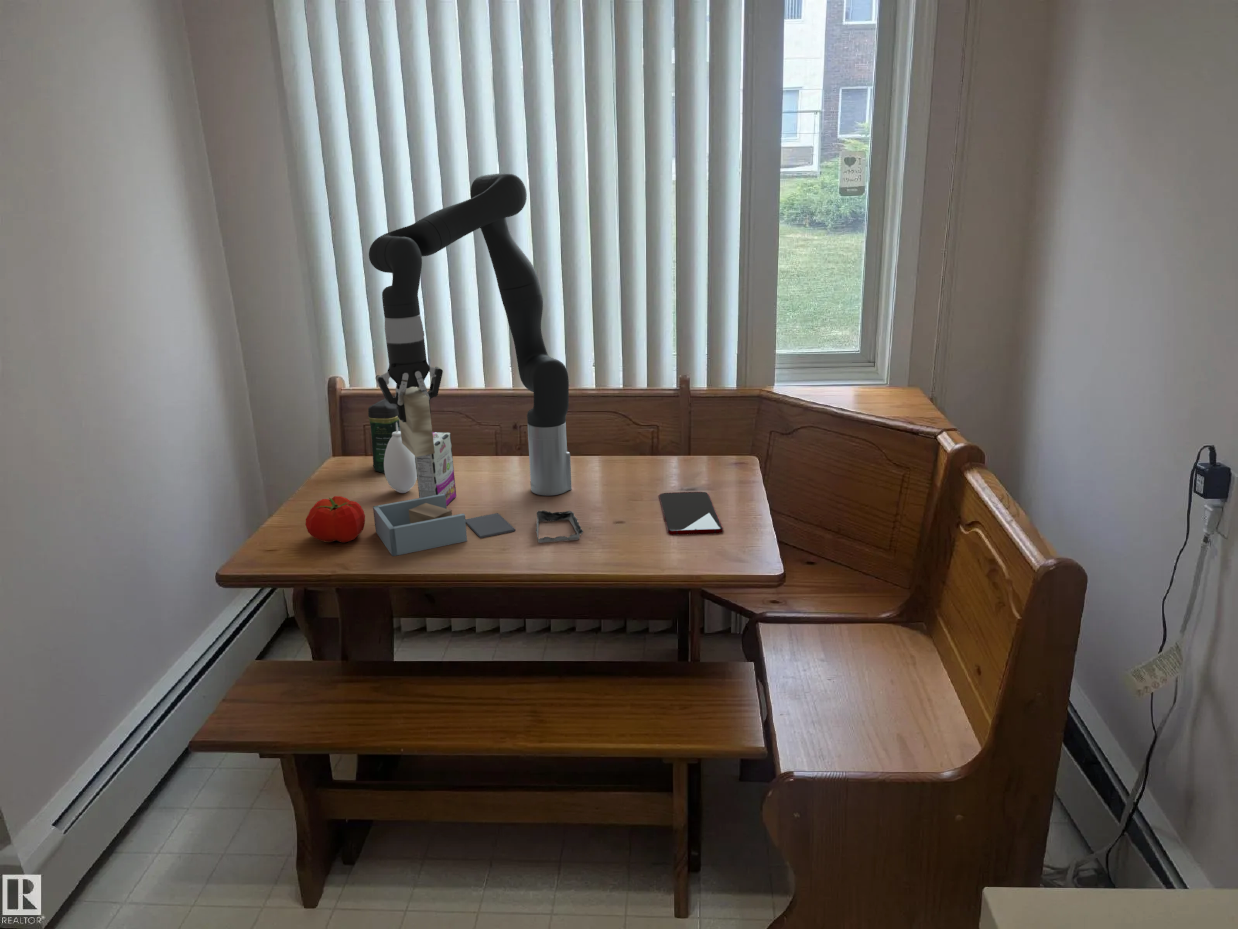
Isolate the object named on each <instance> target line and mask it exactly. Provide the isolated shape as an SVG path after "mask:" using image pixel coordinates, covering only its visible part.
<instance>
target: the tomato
mask: <svg viewBox="0 0 1238 929" xmlns="http://www.w3.org/2000/svg"><path fill="white" fill-rule="evenodd" d="M365 523H366V515H365V511H364V509H363V507H362V506H361V504H360V503H358V502H357V501H354V500H350V499H348V498H346V497H344V496H339V495H337V496H336V495H335V496H333V497H328V498H322V499H319V500H318V501H317V502H316V503H315V504H314V505H313V506H312V507H311V508H310V510H309V512H308V514H307V517H306V518H305V523H304V524H305V527H306V531H307V533H308V534H309V535H310V536H311V537H313V538H314V539H316V540H319V541H321V542H326V543H333V542H335V541H337V542H340V543H347V542H351V541H354V540H355V539H356V538H357V537H358V536H359V535H360V534H361V533H362V532H363V530H364V528H365Z"/></svg>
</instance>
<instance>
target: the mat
mask: <svg viewBox="0 0 1238 929" xmlns="http://www.w3.org/2000/svg"><path fill="white" fill-rule="evenodd" d="M465 521H466V526H468V527H469V528H470V529H471V530H472V531H473V532H474V533H475V534H476V536H478V537H479V539H484V538H489V537H492V536H497V535H498V536H499V535H501V534H502V535H503V534H507V533H513V532H516V528H515V527H514V526H512V524H511V523H509V522H508V520H506V519H505V518H504V517H503V516H502V515H501V514H499V513H498V512H496V513H491V514H486V515H481V516H475V517H470V518H465Z"/></svg>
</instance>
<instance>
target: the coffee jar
mask: <svg viewBox="0 0 1238 929" xmlns="http://www.w3.org/2000/svg"><path fill="white" fill-rule="evenodd" d="M367 410H368V411H367V414H368V416H367V417H368V420H369V426H370V435H371V446H372V448H371V450H372V451H371V452H372V466H373V470H374V471H375V472H379V473H382V474H385V472H384V456H385V451H386V448H387V445H388V442H389V440H390V439H391V437H392V433H393V432H395V431H396V422H397V425H398V431H400V423H399V418H398V416H397V408H396V404H390V403H389V402H388V401H387V400H386V399H385V398H383V399H382V400H380V401H379V400H378V401H377V402H376V403H374V404H372V405H370V406H369V407H368V408H367Z"/></svg>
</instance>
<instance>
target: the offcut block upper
mask: <svg viewBox="0 0 1238 929" xmlns="http://www.w3.org/2000/svg"><path fill="white" fill-rule="evenodd" d="M452 512H453V510H451V509H449V508H447V509H445V508H442V507H438V506H435V505H431V504H428V503H424V504H422V505H420V506H417V507H415V508H412V509H410V510H409V519H410V523H416V522H421V521H427V520H432V519H437V518H442V517H447V516H453V513H452Z"/></svg>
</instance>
